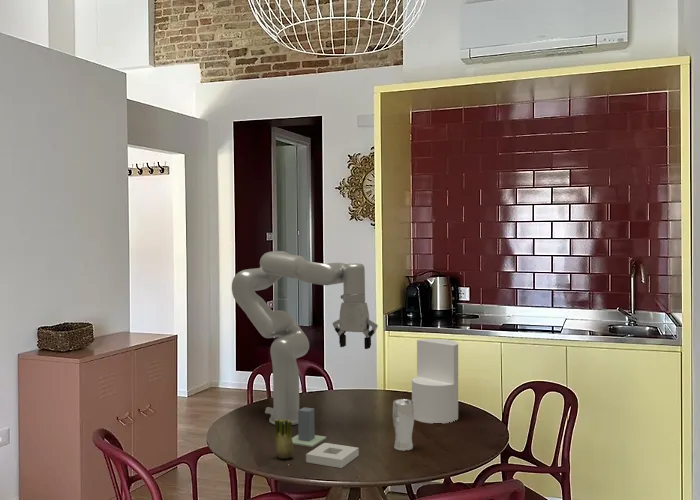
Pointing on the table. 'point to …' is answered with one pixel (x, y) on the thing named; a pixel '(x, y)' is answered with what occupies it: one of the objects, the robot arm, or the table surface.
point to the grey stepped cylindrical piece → (436, 381)
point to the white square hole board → (332, 455)
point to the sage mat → (308, 443)
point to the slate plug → (306, 424)
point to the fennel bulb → (283, 439)
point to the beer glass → (403, 423)
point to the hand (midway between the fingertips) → (355, 347)
